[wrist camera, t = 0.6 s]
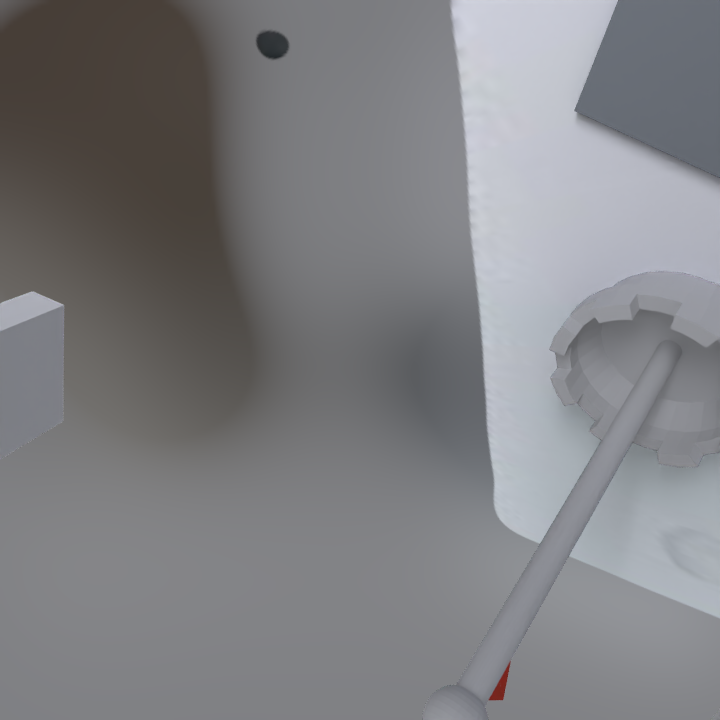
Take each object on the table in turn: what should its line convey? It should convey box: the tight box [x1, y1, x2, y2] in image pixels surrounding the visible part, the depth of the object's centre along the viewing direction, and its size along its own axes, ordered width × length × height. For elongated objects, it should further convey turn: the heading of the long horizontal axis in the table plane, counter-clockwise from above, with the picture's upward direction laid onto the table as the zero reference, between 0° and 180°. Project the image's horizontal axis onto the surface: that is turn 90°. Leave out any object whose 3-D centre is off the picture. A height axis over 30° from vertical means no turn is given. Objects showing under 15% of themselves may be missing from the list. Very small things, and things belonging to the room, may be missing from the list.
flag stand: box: [422, 271, 720, 720], centre depth 36 cm, size 13×13×30 cm
